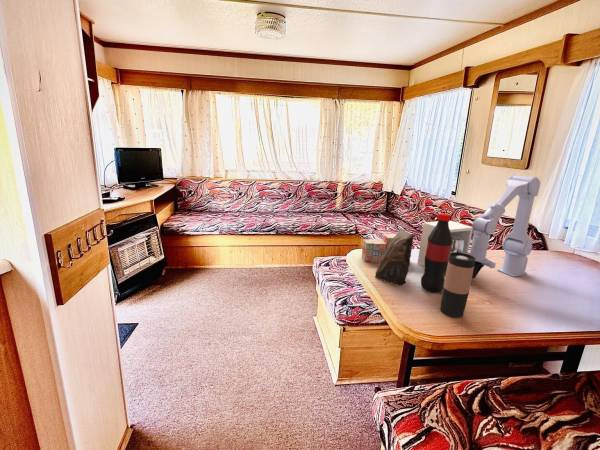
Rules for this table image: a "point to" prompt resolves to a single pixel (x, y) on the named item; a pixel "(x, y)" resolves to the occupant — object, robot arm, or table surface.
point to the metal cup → (457, 244)
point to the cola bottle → (437, 255)
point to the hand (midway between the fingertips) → (472, 277)
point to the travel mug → (457, 284)
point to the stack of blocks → (376, 248)
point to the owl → (396, 259)
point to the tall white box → (455, 230)
